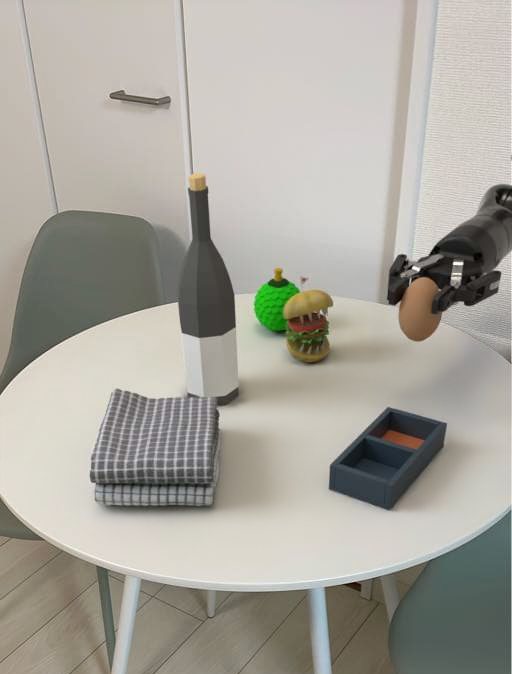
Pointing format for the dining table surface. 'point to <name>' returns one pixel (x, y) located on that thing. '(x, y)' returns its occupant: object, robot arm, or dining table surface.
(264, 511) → the dining table surface
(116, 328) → the dining table surface
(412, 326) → the egg
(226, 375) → the wine bottle
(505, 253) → the robot arm
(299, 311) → the hamburger
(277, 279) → the ornament
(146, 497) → the towel
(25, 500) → the dining table surface
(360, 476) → the divided tray
